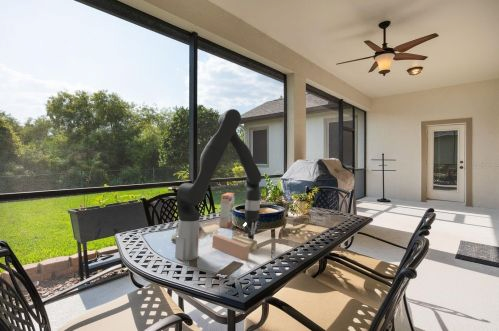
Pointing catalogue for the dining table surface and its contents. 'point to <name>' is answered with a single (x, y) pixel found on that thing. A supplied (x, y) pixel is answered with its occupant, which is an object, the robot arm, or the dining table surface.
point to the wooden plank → (229, 268)
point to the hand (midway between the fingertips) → (250, 241)
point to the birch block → (246, 242)
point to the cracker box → (226, 209)
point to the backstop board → (231, 247)
